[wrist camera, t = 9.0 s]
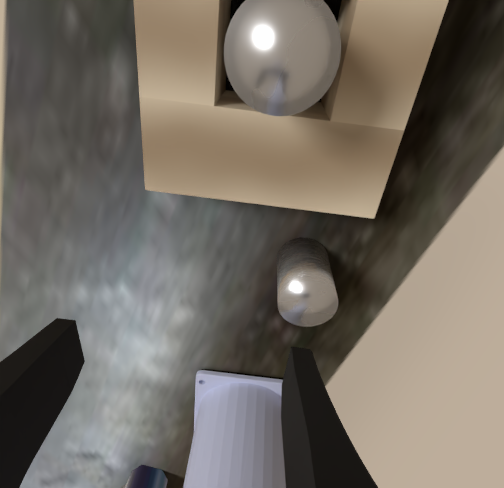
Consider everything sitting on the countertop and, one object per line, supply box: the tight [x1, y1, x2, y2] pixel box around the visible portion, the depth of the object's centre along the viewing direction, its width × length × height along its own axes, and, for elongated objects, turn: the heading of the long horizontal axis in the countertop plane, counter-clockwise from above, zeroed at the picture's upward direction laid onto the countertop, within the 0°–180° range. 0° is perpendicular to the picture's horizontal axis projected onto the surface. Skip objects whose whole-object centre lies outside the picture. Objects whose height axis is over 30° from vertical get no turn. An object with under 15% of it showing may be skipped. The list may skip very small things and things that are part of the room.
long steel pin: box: [224, 0, 341, 116], centre depth 12 cm, size 3×3×7 cm
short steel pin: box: [277, 238, 338, 327], centre depth 19 cm, size 3×3×4 cm
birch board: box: [134, 0, 449, 219], centre depth 13 cm, size 12×10×4 cm
